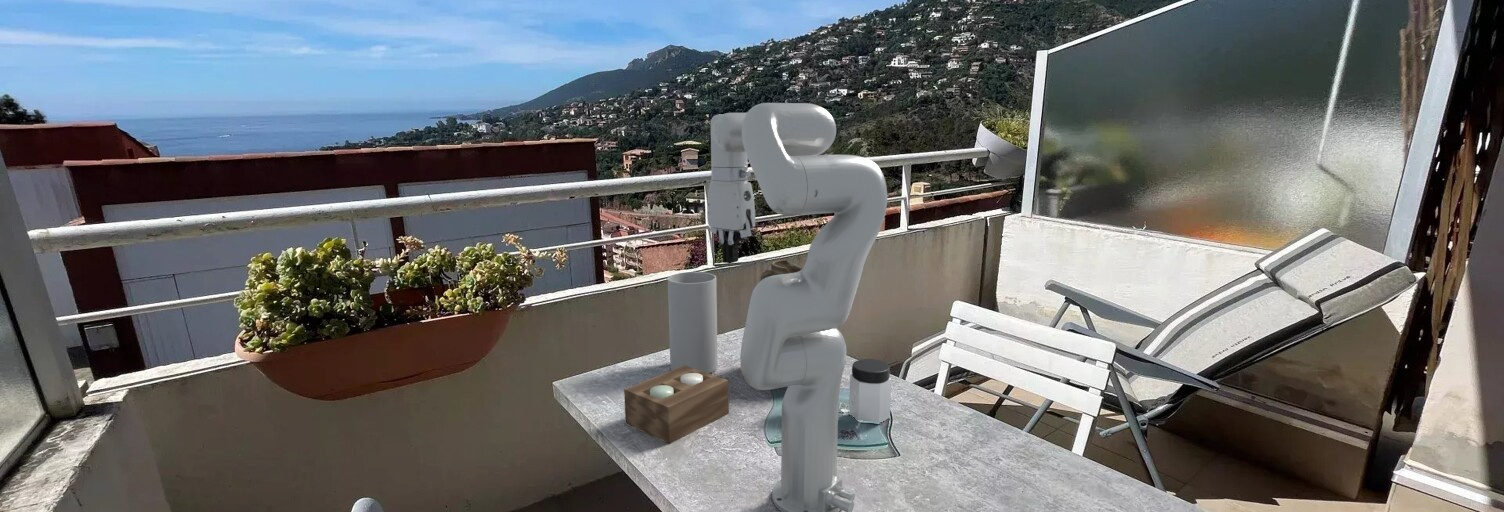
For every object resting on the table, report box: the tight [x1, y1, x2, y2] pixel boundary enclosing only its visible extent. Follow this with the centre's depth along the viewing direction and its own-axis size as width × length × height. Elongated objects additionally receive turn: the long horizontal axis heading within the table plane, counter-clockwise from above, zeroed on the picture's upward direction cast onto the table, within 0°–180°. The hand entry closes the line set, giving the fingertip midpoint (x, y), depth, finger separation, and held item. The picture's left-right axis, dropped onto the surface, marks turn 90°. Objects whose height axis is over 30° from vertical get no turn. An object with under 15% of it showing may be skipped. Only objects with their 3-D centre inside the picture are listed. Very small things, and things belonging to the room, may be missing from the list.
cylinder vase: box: [667, 271, 719, 374], centre depth 167 cm, size 12×12×25 cm
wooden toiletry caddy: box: [623, 365, 730, 445], centre depth 140 cm, size 14×18×8 cm
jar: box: [848, 358, 892, 423], centre depth 141 cm, size 9×8×12 cm
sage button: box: [650, 385, 674, 400], centre depth 136 cm, size 5×5×4 cm
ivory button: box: [681, 373, 703, 386], centre depth 143 cm, size 5×5×4 cm
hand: (730, 261), depth 136 cm, fingers closed
